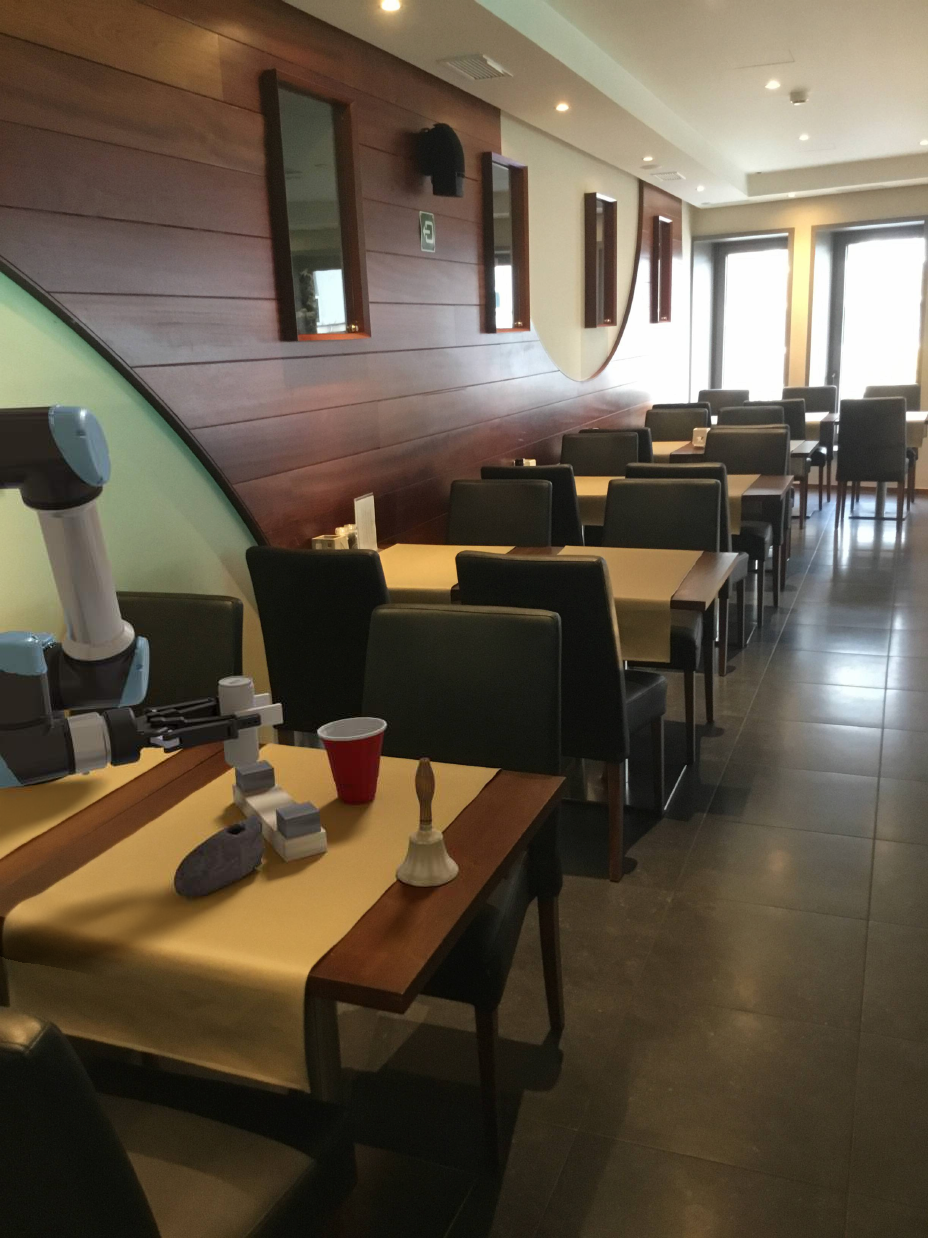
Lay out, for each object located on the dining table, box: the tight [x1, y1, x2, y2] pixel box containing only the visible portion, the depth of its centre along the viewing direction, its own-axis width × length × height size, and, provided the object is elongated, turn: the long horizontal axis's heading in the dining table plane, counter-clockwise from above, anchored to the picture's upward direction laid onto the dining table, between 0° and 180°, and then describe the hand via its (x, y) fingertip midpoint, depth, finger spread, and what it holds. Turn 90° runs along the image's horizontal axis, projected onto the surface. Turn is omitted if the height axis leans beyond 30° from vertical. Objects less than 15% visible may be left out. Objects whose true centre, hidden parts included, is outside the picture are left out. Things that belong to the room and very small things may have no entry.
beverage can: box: [217, 675, 260, 768], centre depth 141 cm, size 5×5×12 cm
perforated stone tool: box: [173, 816, 266, 898], centre depth 132 cm, size 15×5×7 cm, turn 142°
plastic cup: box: [316, 716, 388, 805], centre depth 157 cm, size 11×11×12 cm
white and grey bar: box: [231, 759, 328, 863], centre depth 148 cm, size 24×6×6 cm, turn 30°
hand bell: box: [395, 757, 460, 887], centre depth 132 cm, size 8×8×16 cm
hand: (274, 707), depth 143 cm, fingers closed on beverage can, 5 cm apart
